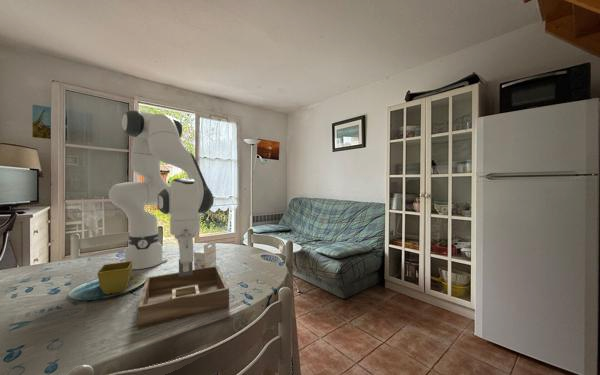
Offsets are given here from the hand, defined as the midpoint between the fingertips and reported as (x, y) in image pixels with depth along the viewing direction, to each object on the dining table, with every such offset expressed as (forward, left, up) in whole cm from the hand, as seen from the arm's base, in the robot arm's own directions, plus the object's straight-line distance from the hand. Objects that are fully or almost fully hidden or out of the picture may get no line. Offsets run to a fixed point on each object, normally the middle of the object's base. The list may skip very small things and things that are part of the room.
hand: (185, 268), depth 79 cm
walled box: (0, 0, -11) cm, 11 cm away
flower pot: (-19, -22, -11) cm, 31 cm away
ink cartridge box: (-17, +8, -11) cm, 22 cm away
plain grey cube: (0, 0, -2) cm, 2 cm away
